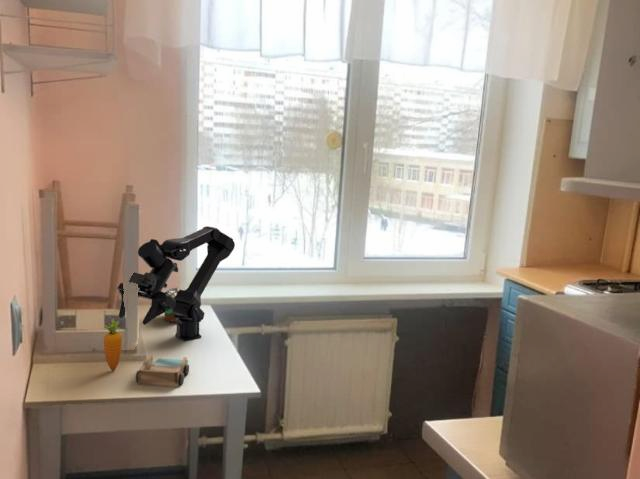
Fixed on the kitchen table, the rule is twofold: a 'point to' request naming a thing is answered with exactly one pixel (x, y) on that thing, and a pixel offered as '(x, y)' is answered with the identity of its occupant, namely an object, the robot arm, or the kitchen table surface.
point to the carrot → (112, 345)
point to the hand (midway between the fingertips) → (131, 320)
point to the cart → (162, 372)
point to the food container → (168, 315)
